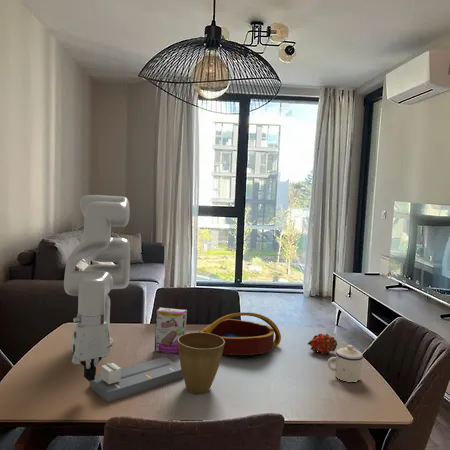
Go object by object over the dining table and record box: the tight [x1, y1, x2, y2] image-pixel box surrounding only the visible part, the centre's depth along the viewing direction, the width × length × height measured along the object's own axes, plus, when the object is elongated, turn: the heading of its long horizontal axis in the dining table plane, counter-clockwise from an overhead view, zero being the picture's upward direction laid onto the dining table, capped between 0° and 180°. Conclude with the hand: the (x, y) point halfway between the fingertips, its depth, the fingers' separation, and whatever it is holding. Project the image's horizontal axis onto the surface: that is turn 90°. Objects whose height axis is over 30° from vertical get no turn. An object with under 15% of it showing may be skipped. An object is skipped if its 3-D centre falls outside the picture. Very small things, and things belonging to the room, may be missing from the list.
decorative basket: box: [198, 312, 282, 356], centre depth 173 cm, size 34×29×15 cm
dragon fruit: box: [307, 333, 338, 355], centre depth 173 cm, size 8×8×12 cm
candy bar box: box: [154, 307, 188, 355], centre depth 165 cm, size 11×5×16 cm, turn 84°
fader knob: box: [100, 362, 122, 384], centre depth 132 cm, size 5×4×4 cm
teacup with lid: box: [327, 344, 364, 382], centre depth 150 cm, size 12×9×12 cm
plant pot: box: [178, 331, 225, 394], centre depth 136 cm, size 15×15×16 cm
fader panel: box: [88, 356, 184, 403], centre depth 139 cm, size 12×28×3 cm, turn 133°
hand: (89, 378), depth 127 cm, fingers closed
